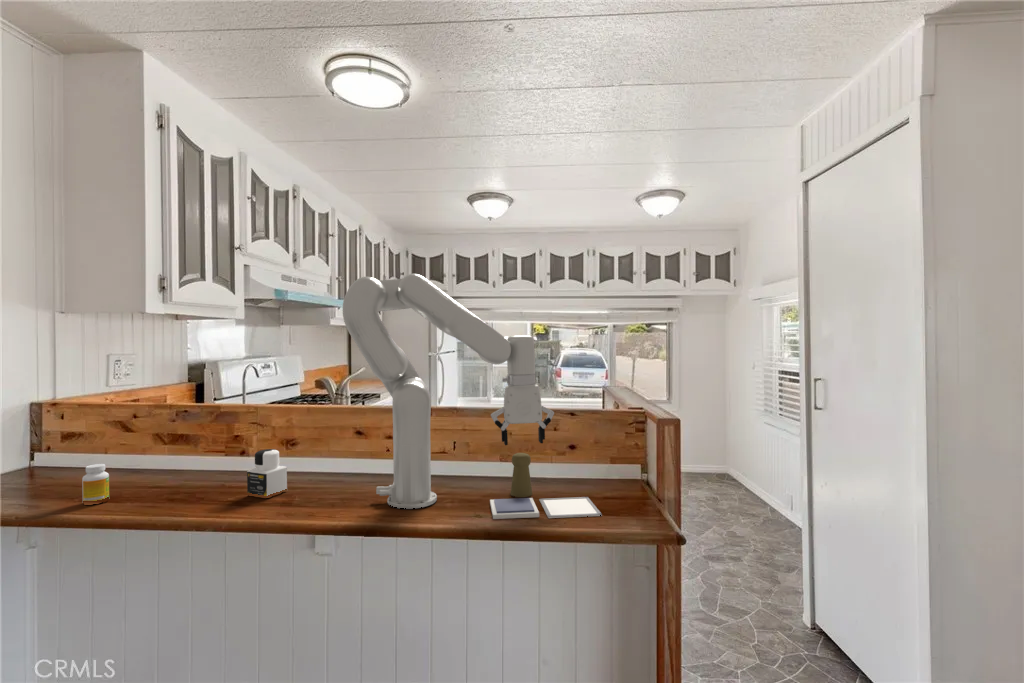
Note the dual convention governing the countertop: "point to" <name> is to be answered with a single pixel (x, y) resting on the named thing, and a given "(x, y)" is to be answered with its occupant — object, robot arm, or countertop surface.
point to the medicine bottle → (267, 474)
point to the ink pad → (513, 508)
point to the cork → (521, 475)
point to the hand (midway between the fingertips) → (523, 443)
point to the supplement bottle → (95, 483)
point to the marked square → (569, 507)
